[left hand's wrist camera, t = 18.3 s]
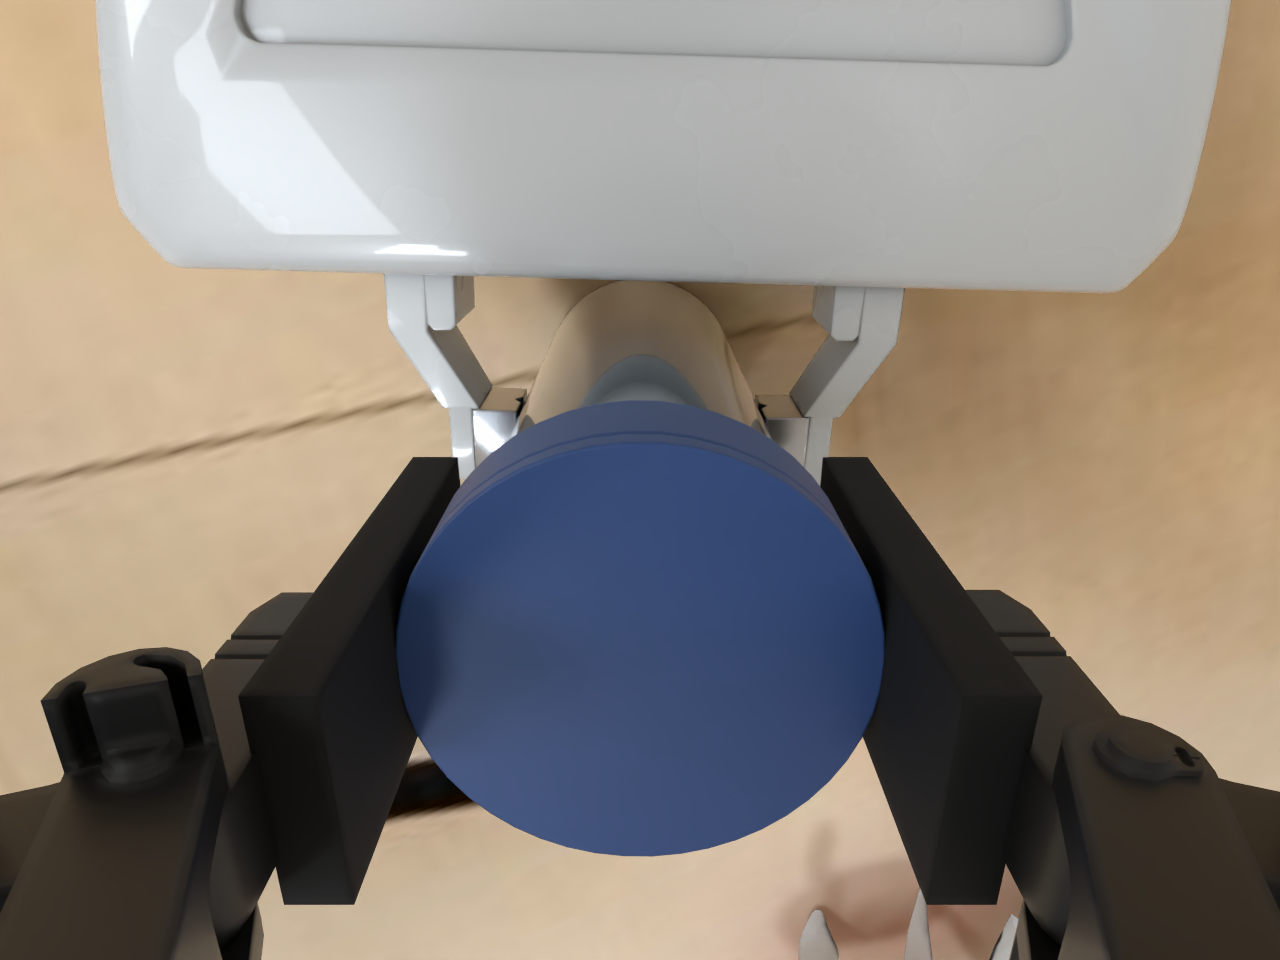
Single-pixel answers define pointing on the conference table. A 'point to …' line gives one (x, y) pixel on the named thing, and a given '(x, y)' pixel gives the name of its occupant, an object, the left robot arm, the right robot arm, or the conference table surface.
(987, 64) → the right robot arm
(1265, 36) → the conference table surface
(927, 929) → the fish
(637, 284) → the jar
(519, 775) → the lid
